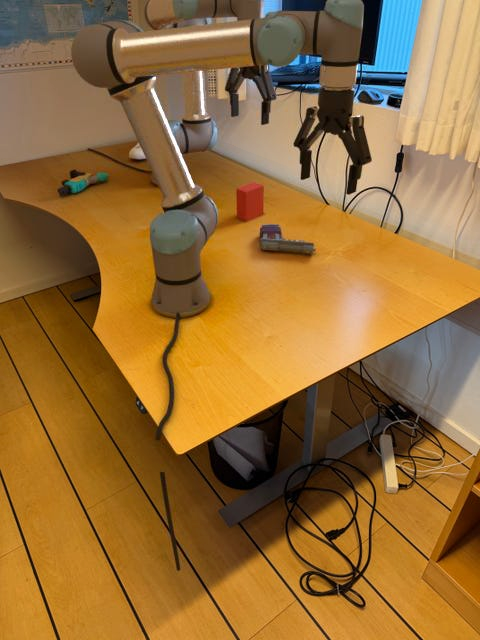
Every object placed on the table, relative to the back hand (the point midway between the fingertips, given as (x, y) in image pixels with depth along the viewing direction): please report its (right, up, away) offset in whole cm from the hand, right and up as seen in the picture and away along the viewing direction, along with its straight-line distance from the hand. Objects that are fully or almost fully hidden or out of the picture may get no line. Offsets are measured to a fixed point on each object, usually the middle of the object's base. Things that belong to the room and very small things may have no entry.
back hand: (249, 120), depth 151 cm
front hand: (+18, -32, -39) cm, 53 cm away
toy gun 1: (-70, -9, +44) cm, 83 cm away
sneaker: (-48, +16, +79) cm, 93 cm away
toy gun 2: (+12, -40, 0) cm, 42 cm away
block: (+1, -26, +19) cm, 32 cm away
